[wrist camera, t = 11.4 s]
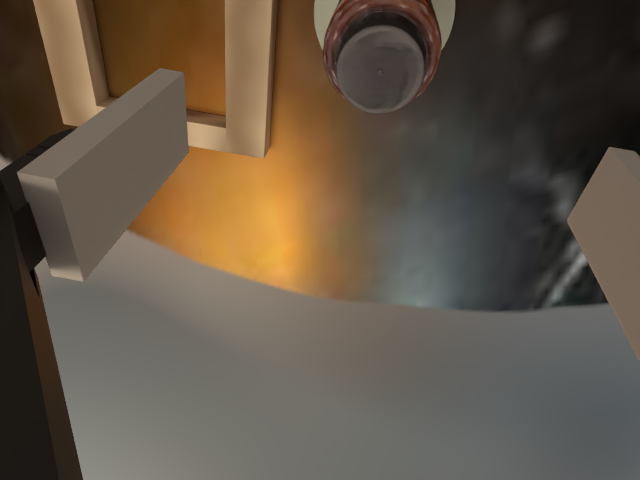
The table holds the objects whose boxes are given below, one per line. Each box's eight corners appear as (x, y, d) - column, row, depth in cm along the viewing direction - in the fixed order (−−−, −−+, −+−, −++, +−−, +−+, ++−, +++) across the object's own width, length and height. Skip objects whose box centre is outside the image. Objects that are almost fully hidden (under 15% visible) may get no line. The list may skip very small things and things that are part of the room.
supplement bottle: (328, -24, 28) (298, 15, 19) (425, -51, 26) (442, -22, 18) (348, 71, 31) (330, 143, 23) (435, 52, 30) (453, 120, 21)
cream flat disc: (474, -57, 27) (475, -56, 26) (431, 92, 32) (432, 95, 32) (324, -81, 27) (323, -80, 26) (308, 71, 32) (307, 74, 32)
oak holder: (281, -58, 28) (275, -55, 26) (269, 147, 36) (263, 158, 35) (30, -99, 28) (8, -98, 26) (77, 113, 37) (63, 123, 35)
